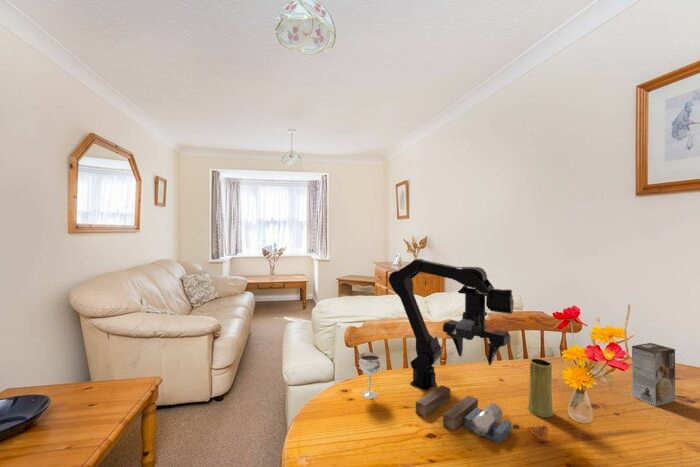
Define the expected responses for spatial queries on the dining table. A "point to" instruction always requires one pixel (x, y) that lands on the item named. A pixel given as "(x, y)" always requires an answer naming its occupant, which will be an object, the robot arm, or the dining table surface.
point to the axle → (486, 419)
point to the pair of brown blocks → (454, 414)
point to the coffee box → (653, 373)
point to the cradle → (496, 432)
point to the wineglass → (369, 370)
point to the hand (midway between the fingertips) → (474, 360)
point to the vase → (540, 388)
